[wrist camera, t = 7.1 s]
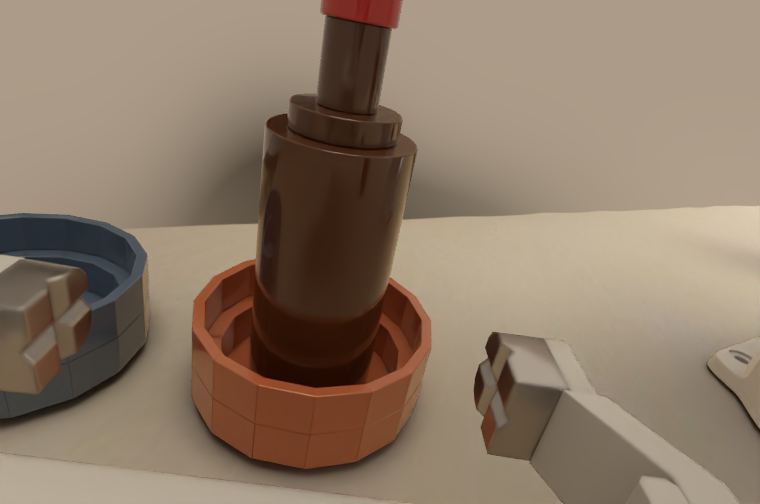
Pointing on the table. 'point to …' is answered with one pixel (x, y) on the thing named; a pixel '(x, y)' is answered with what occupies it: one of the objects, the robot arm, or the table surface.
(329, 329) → the sauce bottle
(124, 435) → the table surface
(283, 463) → the bowl
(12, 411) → the bowl
